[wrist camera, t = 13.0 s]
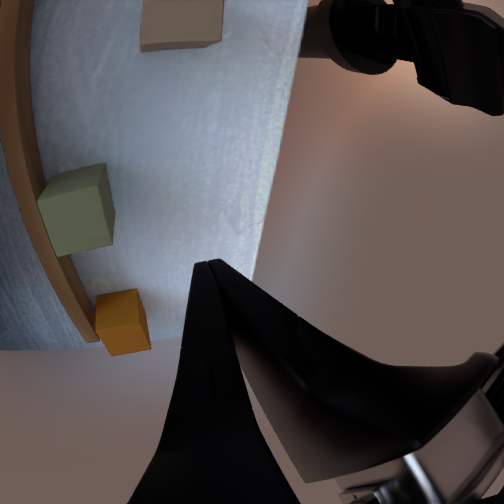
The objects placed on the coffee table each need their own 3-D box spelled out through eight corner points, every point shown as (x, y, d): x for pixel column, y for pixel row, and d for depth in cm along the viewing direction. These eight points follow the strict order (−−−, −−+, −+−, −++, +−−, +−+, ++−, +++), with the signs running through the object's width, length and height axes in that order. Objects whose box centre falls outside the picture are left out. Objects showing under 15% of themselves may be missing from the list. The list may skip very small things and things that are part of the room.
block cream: (208, -5, 11) (226, -23, 8) (204, 48, 13) (221, 41, 10) (143, -2, 9) (145, -22, 6) (140, 52, 12) (139, 45, 9)
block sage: (105, 161, 15) (98, 184, 12) (115, 213, 18) (113, 245, 15) (53, 175, 14) (36, 201, 11) (67, 224, 16) (57, 257, 13)
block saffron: (136, 288, 22) (140, 323, 19) (146, 316, 25) (151, 349, 22) (96, 296, 21) (95, 331, 18) (109, 323, 24) (111, 356, 21)
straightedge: (38, -21, 4) (26, -30, 3) (99, 320, 23) (100, 341, 21) (19, -12, 4) (6, -20, 2) (86, 323, 22) (86, 343, 21)
